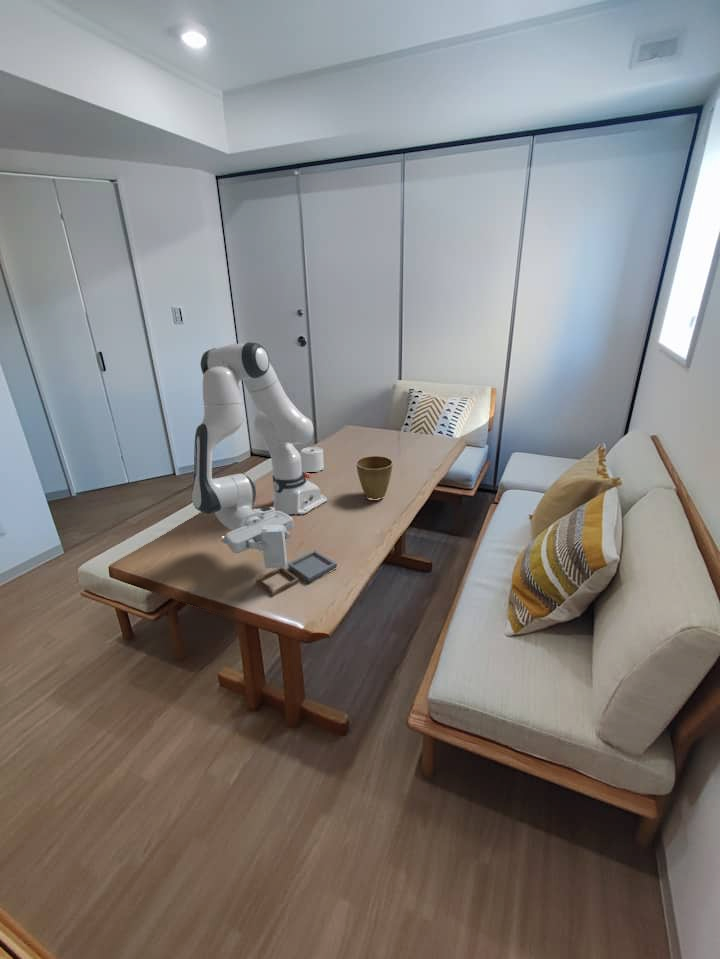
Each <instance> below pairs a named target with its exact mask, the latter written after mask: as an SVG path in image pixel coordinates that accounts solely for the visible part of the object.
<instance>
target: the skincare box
mask: <svg viewBox="0 0 720 959" xmlns="http://www.w3.org/2000/svg"><path fill="white" fill-rule="evenodd" d="M261 537H262V542H263V543H264V544H265V549H264V550H262V555H263V563H264V568H265V569H277V568H284V569H286V566H287V564H288V563H287V562H288V555H287V544H286V542H287V541H286V539H285V532H284V525H263V528H262V531H261Z"/></svg>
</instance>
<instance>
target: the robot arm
mask: <svg viewBox="0 0 720 959" xmlns="http://www.w3.org/2000/svg"><path fill="white" fill-rule="evenodd" d="M200 368H201V372H202V375H203V377H202V401H203V408H204V409H203V411H204V413H203V414H204V415H203V418H202V422H201V424H199V425H198V426H197V427H196V430H195V435H194V436H195V437H194V452H193V453H194V454H193V455H194V456H193V458H194V459H193V482H192V489H191V500H192V504H193V506H194V508H195V509H196V510H197V511H199V512H201V513H203V514H206V515H211V514H214V515H215V517H216V518H217V519H218V520H219V522H220V523H221V524H222V525H223V526H224V527H226V528H228V529H229V530H230V531H227V532H226V533H225V534H222V535H223V536H221V538H220V541H221V543H223V544H226V545H227V547H228V548H229V549H230V550H231V552H232V553H234V554H240V553H243V552H245V551H247V550H249V549H252V550H258V551H260V552H261V551H262V552H263V550H264V549H265V544H264V543H263V542H262V537H261V531H262V528H263V525H284V532H285V540H287V539H289V538H291V533H290V531H292V530H293V529H294V519H293V517H292V516H291V515H287V514H295V515H297V514H305V513H307V512H308V511H310V510H311V509H313V508H315V507H317V506H318V505H320V504H322V503H324V502H325V501H327V502H328V499H327V497H326V496H325V495H324V494H323V493H321V489H320V488H319V487H318V485H317V484H315V483H313V482H312V481H309V480H308V479H311V476H312V473H304V472H302V466H301V456H300V454H301V452H299V451H298V450H297V449H296V447H295V446H294V445H304V444H307V443H309V442H310V441H311V439H312V437H313V435H314V430H315V429H314V424H313V422H312V420H311V419H310V418H309V417H307V416H305V415H304V414H303V413H302V412H301V411H300V410H299V409H298V408H297V407H296V405H295V404H294V403H293V402H292V401H291V400H290V399H289V397H288V395H287V394H286V392H285V390H284V388H283V386H282V384H281V382H280V380H279V378H278V375H277V373H276V371H275V369H274V368H273V366H272V364H271V362H270V357H269V353H268V351H267V350H266V348H264V347H263V346H262V345H261V344H260V343H257V342H252V341H251V342H245V343H232V344H228V345H224V346H221V347H217V348H215V347H214V348H211V349H208V350H206V351H204V352H203V354H202V355H201V360H200ZM240 381H241V382H242V381H243V383H244V386H245V387H246V389H247V391H248V393H249V395H250V397H251V399H252V400H253V404H255V407H256V409H258V411H259V412H258V413H257V414H256V417H255V419H254V427H255V430H256V432H257V433H258V434H259V435H260V436H261V438H262V439H263V441H264V443H265V446H266V447H267V449H268V452H269V455H270V459H271V465H272V485H273V490H274V492H273V493H274V494H273V496H274V497H273V505H272V506H268V507H263V508H262V507H261V508H253V507H254V506H255V505H254V504H255V502H256V495H257V489H256V486H255V483H254V482H253V481H252V479H251V478H250V477H249V476H248V475H247V474H245V473H242V472H241V473H235V474H229V475H226V476H222V477H221V476H220V477H216V478H213V452H214V449H215V448H216V446H217V445H219V443H220V442H221V441H223V440H224V439H227V438H228V437H230V436H232V435H233V434H235V433H237V431H238V430H239V429H240V427H241V426H242V425H243V422H244V418H245V417H244V416H245V413H244V405H243V398H242V393H241V388H240V385H239V382H240ZM324 504H325V503H324ZM322 505H323V504H322ZM320 506H321V505H320ZM317 508H318V507H317ZM315 509H316V508H315ZM310 512H311V511H310ZM308 513H309V512H308ZM308 513H307V514H308ZM305 515H306V514H305Z"/></svg>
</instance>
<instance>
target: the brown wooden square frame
mask: <svg viewBox="0 0 720 959" xmlns="http://www.w3.org/2000/svg"><path fill="white" fill-rule="evenodd" d="M279 573H282V574H283V575H285V576H286V577H288V579H289V578H290V580H291V581H289V582H287V583H285V584H283V585H281V586H279V587H278V588H275V589H273V588H272V587H271V586H269V585H268V584H266V583H265V582H264V581H267V579H270V578H272V577H274V576H276V575H277V574H279ZM255 583H256V584H258V585H259V586H260V587H261V588H262V589H264V591H266V592H267V593H269V594H270V595H271V596H272V597H275V596H277V595H279V594H280V593H282V592H284V591H286V590H288V589H289V588H291V587H293V586H296V585H297V584H300V577H299V578H298V577H297V575H294V574H293V572H292V573H291V572H290V570H288V569H286V568H274V569H273V570H271V571H270V572H268V573H265V574H263V575H261V576H258V577H257V578H256V579H255Z"/></svg>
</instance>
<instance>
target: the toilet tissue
mask: <svg viewBox="0 0 720 959" xmlns="http://www.w3.org/2000/svg"><path fill="white" fill-rule="evenodd" d="M300 456H301V466H302V472H314V471H319V470H322V469H323V468H324V469H325V466H324V462H325V461H324V459H325V458H324V449H323V448H322V447H319V446H308V447H303V448H302V449H301V450H300Z"/></svg>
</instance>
